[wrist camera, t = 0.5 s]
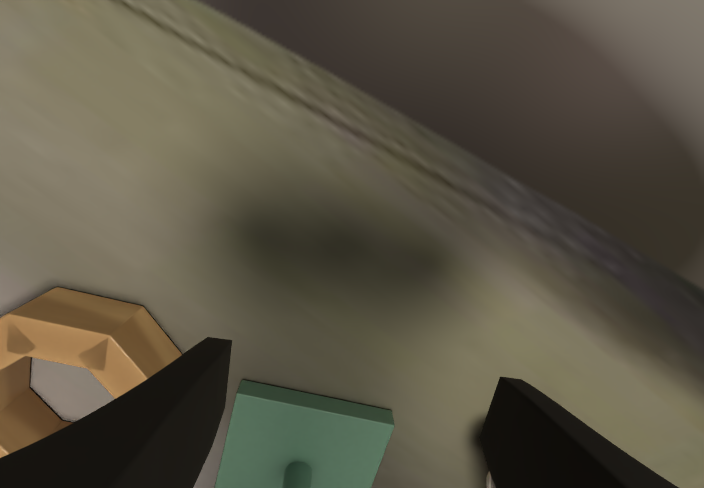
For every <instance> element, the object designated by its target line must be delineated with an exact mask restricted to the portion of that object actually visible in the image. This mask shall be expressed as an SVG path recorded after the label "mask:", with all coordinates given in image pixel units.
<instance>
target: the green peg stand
mask: <svg viewBox="0 0 704 488" xmlns="http://www.w3.org/2000/svg"><path fill="white" fill-rule="evenodd" d="M393 428H394V420H393V415H392V411H391V410H386V409H381V408H376V407H371V406H367V405H362V404H357V403H352V402H347V401H343V400H338V399H333V398H328V397H323V396H319V395H314V394H309V393H304V392H299V391H294V390H290V389H285V388H280V387H275V386H270V385H266V384H261V383H256V382H251V381H246V380H241V383H240V386H239V388H238V391H237V393H236V398H235V402H234V406H233V411H232V415H231V419H230V423H229V428H228V432H227V436H226V441H225V445H224V449H223V453H222V458H221V462H220V466H219V471H218V475H217V479H216V483H215V488H371V486H372V483H373V481H374V478H375V475H376V473H377V470H378V468H379V465H380V462H381V460H382V457H383V454H384V452H385V449H386V447H387V444H388V441H389V439H390V436H391V433H392V431H393Z"/></svg>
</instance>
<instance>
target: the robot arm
mask: <svg viewBox="0 0 704 488" xmlns="http://www.w3.org/2000/svg"><path fill="white" fill-rule="evenodd" d="M231 345H232V340H225V339H218V338H211V337H207V338H206V339H204V340H203V341H201V342H200V343H198V344H197V345H195V346H194V347H193V348H191V349H190V350H188V351H187V352H186V353H184V354H183V355H181V356H180V357H179V358H177V359H176V360H174V361H173V362H171V363H170V364H169V365H167V366H166V367H164V368H163V369H161V370H160V371H158V372H157V373H155V374H154V375H152V376H151V377H149V378H148V379H146V380H145V381H143V382H142V383H140V384H139V385H137V386H136V387H134V388H132V389H131V390H129V391H128V392H126V393H124V394H123V395H121V396H119V397H118V398H116V399H114V400H113V401H111V402H110V403H108V404H106V405H105V406H103V407H101V408H99V409H98V410H96V411H94V412H92V413H91V414H89V415H87V416H85V417H83V418H82V419H80V420H78V421H76V422H74V423H72V424H70V425H68V426H66V427H64V428H62V429H60V430H58V431H57V432H55V433H53V434H51V435H49V436H47V437H45V438H43V439H41V440H39V441H37V442H35V443H32V444H30V445H28V446H26V447H24V448H21V449H19V450H17V451H15V452H13V453H10V454H8V455H6V456H4V457H1V458H0V488H193V487H194V485H195V482H196V480H197V478H198V476H199V474H200V472H201V469H202V467H203V465H204V463H205V461H206V458H207V456H208V454H209V452H210V450H211V447H212V445H213V442H214V439H215V436H216V433H217V430H218V427H219V424H220V421H221V418H222V415H223V412H224V409H225V402H226V393H227V383H228V374H229V364H230V355H231ZM479 438H480V441H481V445H482V448H483V452H484V455H485V459H486V462H487V465H488V468H489V471H490V474H491V477H492V480H493V482H494V485H495V487H496V488H678V487H677V486H675V485H674V484H672V483H670V482H669V481H667V480H666V479H664V478H663V477H661V476H660V475H658V474H656V473H655V472H653V471H652V470H651V469H649V468H648V467H646V466H645V465H643V464H642V463H640V462H639V461H637V460H636V459H634V458H633V457H631V456H630V455H628V454H627V453H625V452H624V451H623V450H621V449H620V448H618V447H617V446H615V445H614V444H613V443H611V442H610V441H608V440H607V439H605V438H604V437H603V436H601V435H600V434H598V433H597V432H596V431H594V430H593V429H592V428H590V427H589V426H587V425H586V424H585V423H583V422H582V421H581V420H579V419H578V418H576V417H575V416H574V415H572V414H571V413H570V412H568V411H567V410H566V409H564V408H563V407H561V406H560V405H559V404H557V403H556V402H555V401H553V400H552V399H550V398H549V397H547V396H546V395H545V394H543V393H542V392H540V391H539V390H537V389H536V388H534V387H533V386H531V385H530V384H528V383H526V382H525V381H523V380H521V379H514V378H507V377H500V379H499V382H498V384H497V387H496V390H495V393H494V396H493V399H492V402H491V405H490V408H489V411H488V414H487V417H486V420H485V423H484V425H483V428H482V431H481V434H480V437H479Z"/></svg>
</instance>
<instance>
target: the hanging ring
mask: <svg viewBox="0 0 704 488" xmlns="http://www.w3.org/2000/svg"><path fill="white" fill-rule="evenodd" d="M181 355H182V354H181V353H180V351H179V350H178V349H177V348H176V346H175V345H174V344H173V343H172V341H171V340H170V339H169V338H168V337H167V335H166V334H165V333H164V332H163V330H162V329H161V328H160V327H159V325H158V324H157V323H156V322H155V321H154V319H153V318H152V317H151V316H150V314H149V313H148V312H147V311H146V309H145V308H144V307H143V306H140V305H135V304H131V303H126V302H122V301H118V300H113V299H109V298H104V297H100V296H95V295H91V294H86V293H82V292H77V291H73V290H68V289H64V288H60V287H56V288H54V289H52V290H50V291H48V292H46V293H44V294H42V295H41V296H39V297H37V298H35V299H33V300H31V301H30V302H28V303H26V304H24V305H22V306H20V307H19V308H17V309H15V310H13V311H11V312H9V313H7V314H6V315H4V316H2V317H1V318H0V458H1V457H4V456H6V455H8V454H10V453H13V452H15V451H17V450H19V449H21V448H24V447H26V446H28V445H30V444H32V443H35V442H37V441H39V440H41V439H43V438H45V437H47V436H49V435H51V434H53V433H55V432H57V431H58V430H60V429H62V428H64V427H66V426H68V425H70V424H72V423H71V422H66V421H62V420H61V419H60V418H59V417H58V416H57V415H56V414H55V413H54V412H53V411H52V410H51V409H50V408H49V407H48V406H47V405H46V404H45V403H44V402H43V401H42V400H41V399H40V398H39V397H38V396H37V395H36V394H35V393H34V392H33V391H32V390H31V389H30V388H29V381H30V362H31V357H33V358H38V359H43V360H48V361H53V362H58V363H63V364H68V365H73V366H78V367H83V368H87V369H88V370H89V371H90V372H91V373H92V374H93V375H94V376H95V377H96V378H97V379H98V381H99V382H100V383H101V384H102V385H103V386H104V387H105V388H106V389H107V390H108V391H109V393H110V394H111V395H112V396H113V397H114V398H115V399H116V398H118V397H119V396H121V395H123V394H124V393H126V392H128V391H129V390H131V389H132V388H134V387H136V386H137V385H139V384H140V383H142V382H143V381H145V380H146V379H148V378H149V377H151V376H152V375H154V374H155V373H157V372H158V371H160V370H161V369H163V368H164V367H166V366H167V365H169V364H170V363H171V362H173V361H174V360H176V359H177V358H179V357H180V356H181Z"/></svg>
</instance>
